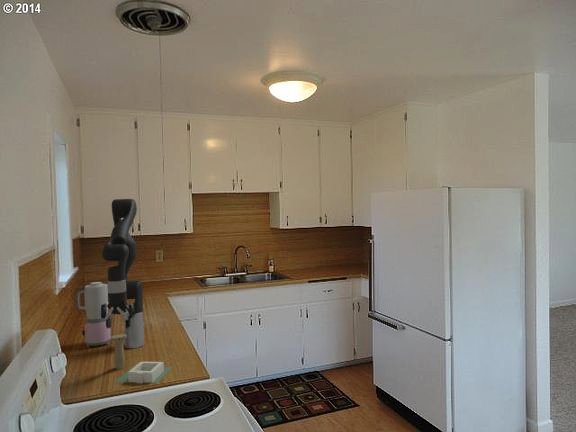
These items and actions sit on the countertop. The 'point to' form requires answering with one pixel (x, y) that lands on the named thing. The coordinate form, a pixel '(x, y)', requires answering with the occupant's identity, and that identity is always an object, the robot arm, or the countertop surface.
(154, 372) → the socket
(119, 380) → the board
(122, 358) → the handle
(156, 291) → the countertop surface
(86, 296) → the blender
